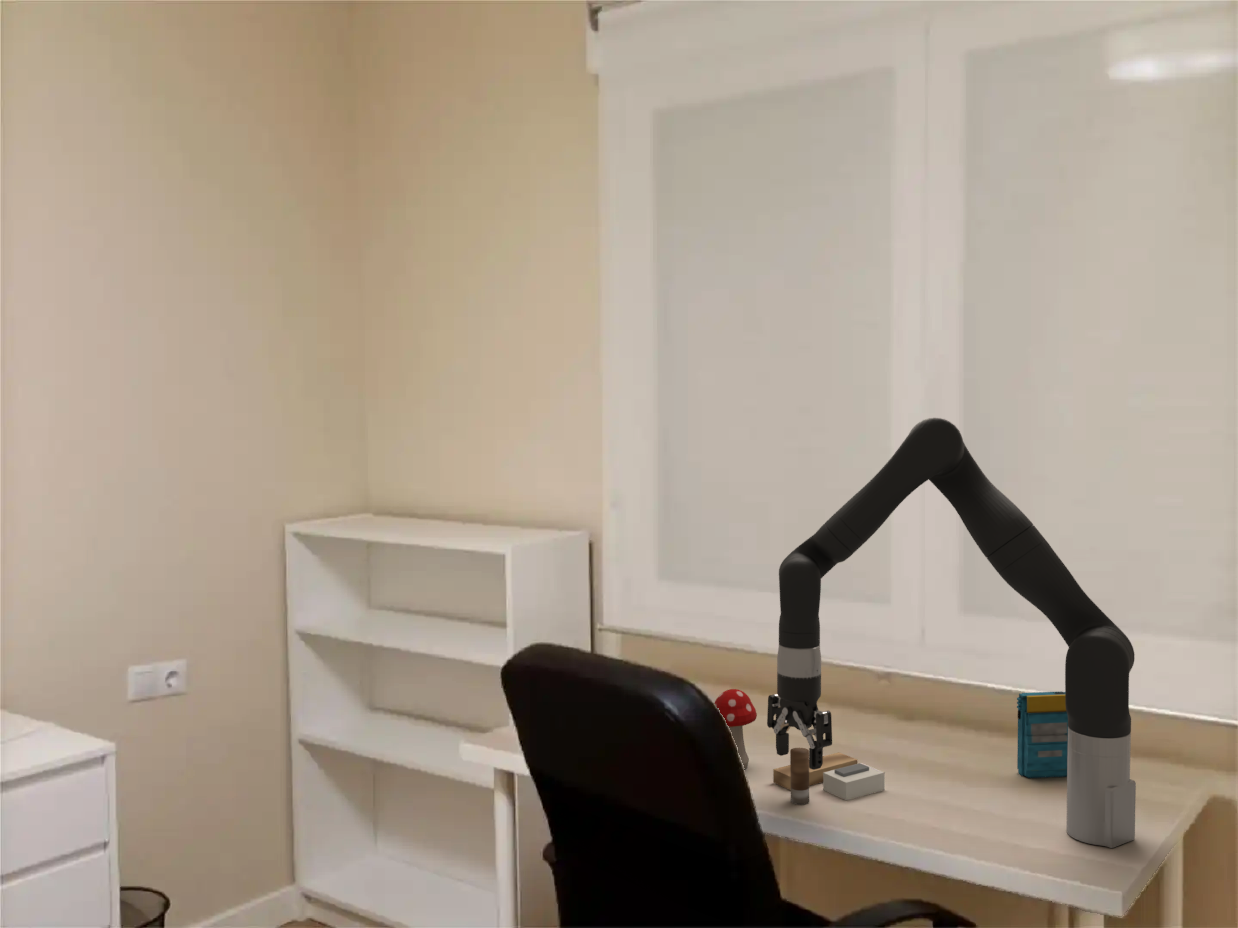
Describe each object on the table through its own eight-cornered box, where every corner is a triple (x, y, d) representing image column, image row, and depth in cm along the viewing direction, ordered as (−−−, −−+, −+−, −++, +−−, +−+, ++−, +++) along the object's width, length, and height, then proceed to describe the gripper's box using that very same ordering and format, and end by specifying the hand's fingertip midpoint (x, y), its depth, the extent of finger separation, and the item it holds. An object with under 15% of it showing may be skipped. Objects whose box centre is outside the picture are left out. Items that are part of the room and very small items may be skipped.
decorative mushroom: (737, 779, 209) (736, 699, 208) (699, 769, 215) (698, 691, 214) (767, 765, 217) (766, 687, 216) (729, 755, 223) (728, 680, 221)
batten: (857, 772, 212) (857, 759, 212) (791, 790, 204) (791, 777, 203) (838, 765, 216) (838, 752, 216) (773, 782, 208) (773, 769, 208)
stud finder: (884, 791, 203) (884, 769, 203) (846, 802, 199) (846, 779, 198) (861, 781, 208) (861, 759, 208) (823, 791, 204) (823, 769, 203)
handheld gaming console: (1065, 769, 211) (1067, 690, 210) (1076, 777, 207) (1077, 697, 206) (1014, 772, 211) (1015, 692, 210) (1023, 780, 207) (1024, 699, 206)
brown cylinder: (813, 802, 198) (812, 751, 197) (799, 806, 196) (798, 755, 196) (800, 796, 201) (800, 746, 200) (786, 800, 199) (786, 750, 198)
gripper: (844, 676, 193) (843, 769, 194) (788, 658, 205) (788, 746, 206) (810, 682, 189) (809, 778, 190) (755, 664, 201) (755, 753, 202)
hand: (798, 761), depth 198 cm, fingers open, 8 cm apart
